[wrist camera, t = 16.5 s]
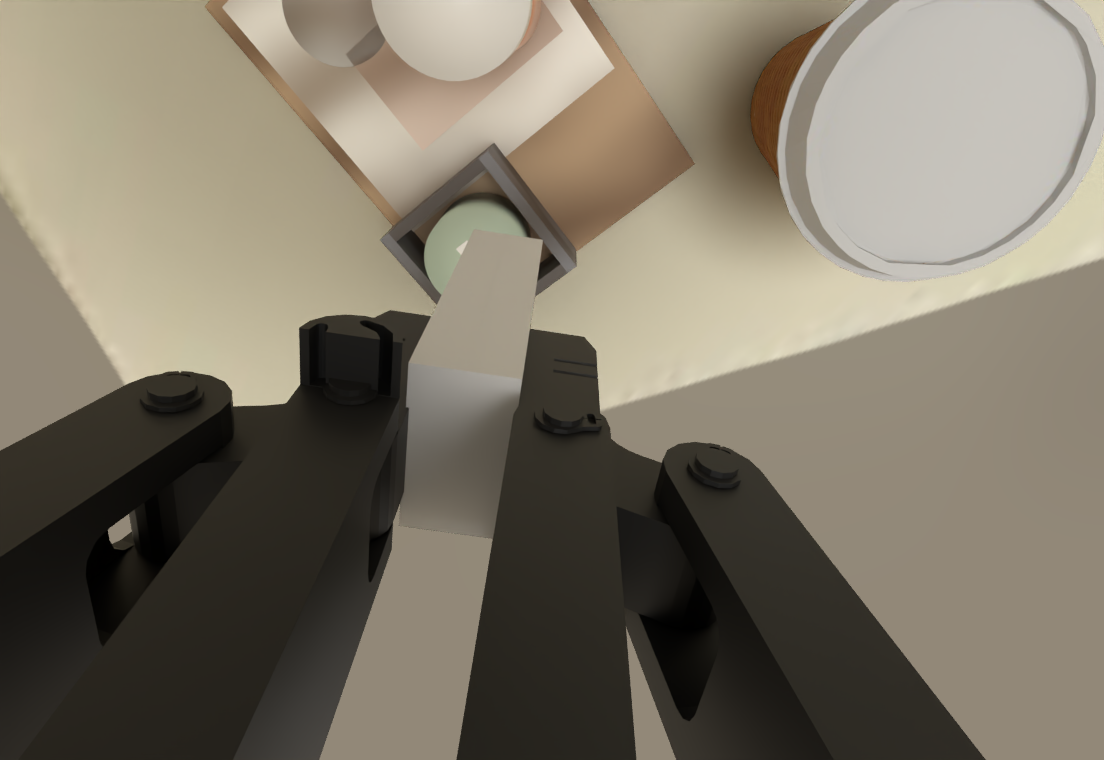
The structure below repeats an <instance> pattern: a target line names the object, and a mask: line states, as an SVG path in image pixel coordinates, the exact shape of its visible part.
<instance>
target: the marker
mask: <svg viewBox="0 0 1104 760" xmlns="http://www.w3.org/2000/svg"><path fill="white" fill-rule="evenodd" d="M371 1H372V7H373V11H374V14H375V17H376V21H377V23H378V25H379V28H380V30H381V32H382V34H383V35H384V37H385V39H386V41H387V42H388V44H389V45H390V46H391V48H392V49H393V50H394V51H395V53H396V54H397V55H398V56H399V57H400V58H401V59H402V60H403V61H405V62H406V63H407V64H408V65H409V66H411V67H412V68H414V69H416V70H417V71H419V72H421V73H423V74H425V75H427V76H430V77H433V78H436V79H440V80H446V81H464V80H470V79H474V78H477V77H480V76H482V75H484V74H487V73H488V72H490V71H492V70H493V69H495V68H496V67H498V66H499V65H501V64H502V63H503V62H504V61H506V60H507V59H508V58H509V57H510V56H511V55H512V54H513V53H514V52H515V51H516V50H518V49H519V48H521V47H522V46H523V45H524V44H525V43H526V42H527V41H528V40H529V39H530V38H531V36H532V35H533V33H534V31H535V29H536V27H537V24H538V22H539V18H540V12H541V0H371Z"/></svg>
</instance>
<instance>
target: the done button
mask: <svg viewBox="0 0 1104 760" xmlns="http://www.w3.org/2000/svg"><path fill="white" fill-rule="evenodd" d="M474 229H476V230H482V231H489V232H495V233H502V234H508V235H515V236H521V237H528V238H531V234H530V229H529V226H528V223H527V221H526V219H525V218H524V216H523V215H522V214H521V212H520V211H519V210H518V209H517V207H516V206H515V205H514V204H513V203H512V202H510V201H509V200H507V199H506V198H504V197H502V196H499V195H496V194H492V193H483V192H482V193H473V194H469V195H466V196H464V197H462V198H460V199H458V200H457V201H455V202H454V203H453V204H452V205H451V206H450V207H449V208H448V209H447V211H446V212H445V213H444V215H443V216H442V217H441V219H440V220H439V221H438V223H437V224H436V225H435V227H434V228H433V229H432V231H431V233H430V234H429V236H428V239H427V241H426V245H425V251H424V262H425V268H426V272H427V274H428V277H429V279H430V281H431V283H432V284H433V286H434V287H435V288H436V290H437V291H438V292H439V293H440V294H441V295H442V293H443V291H444V289H445V287H446V285H447V283H448V281H449V279H450V277H451V275H452V273H453V271H454V269H455V267H456V265H457V263H458V261H459V259H460V257H461V255H462V253H463V251H464V249H465V247H466V244H467V242H468V240H469V238H470V236H471V234H472V232H473V230H474Z"/></svg>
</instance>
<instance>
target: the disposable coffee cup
mask: <svg viewBox="0 0 1104 760" xmlns="http://www.w3.org/2000/svg"><path fill="white" fill-rule="evenodd" d="M750 117H751V126H752V133H753V136H754V139H755V142H756V144H757V146H758V148H759V150H760V152H761V154H762V155H763V156H764V157H765V159H766V160H767V162H768V163H769V165H770V166H771V168H772V169H773V171H774V173H775V174H776V176H777V177H778V179H779V180H780V187H781V193H782V196H783V198H784V201H785V203H786V206H787V208H788V211H789V213H790V215H791V217H792V220H793V221H794V223H795V224H796V226H797V227H798V229H799V230H800V232H801V233H802V235H803V236H804V237H805V239H806V240H807V241H808V242H809V243H810V244H811V245H812V246H813V247H814V248H815V249H816V250H817V251H818V252H819V253H820V254H822V255H823V256H825V257H826V258H827V259H829V260H830V261H832V262H833V263H835V264H836V265H837V266H839V267H841V268H843V269H846V270H848V271H851V272H853V273H856V274H858V275H861V276H863V277H868V278H873V279H878V280H883V281H902V282H910V281H919V280H928V279H933V278H940V277H946V276H952V275H958V274H961V273H964V272H967V271H970V270H973V269H976V268H980V267H983V266H985V265H987V264H989V263H991V262H993V261H995V260H997V259H999V258H1001V257H1002V256H1004V255H1006V254H1008V253H1009V252H1011V251H1013V250H1014V249H1016V248H1017V247H1019V246H1021V245H1022V244H1024V243H1026V242H1027V241H1029V240H1030V239H1031V238H1032V237H1033V236H1034V235H1036V234H1037V233H1038V232H1039V231H1040V230H1041V229H1043V228H1044V227H1045V226H1046V225H1047V224H1048V223H1049V222H1050V221H1051V220H1052V219H1053V218H1054V217H1055V216H1056V215H1057V214H1058V212H1059V211H1060V210H1061V209H1062V208H1063V207H1064V206H1065V205H1066V204H1067V203H1068V202H1069V200H1070V199H1071V197H1072V196H1073V194H1074V192H1075V191H1076V189H1077V188H1078V186H1079V184H1080V183H1081V181H1082V180H1083V178H1084V177H1085V175H1086V173H1087V172H1088V170H1089V169H1090V167H1091V164H1092V162H1093V160H1094V157H1095V155H1096V153H1097V150H1098V148H1099V146H1100V144H1101V140H1102V137H1103V133H1104V46H1103V44H1102V42H1101V39H1100V37H1099V35H1098V33H1097V31H1096V29H1095V26H1094V24H1093V22H1092V20H1091V18H1090V16H1089V15H1088V14H1087V13H1086V12H1085V11H1084V10H1083V9H1082V8H1081V7H1080V6H1079V5H1078V4H1077V3H1075V2H1074V0H855V1H853V2H852V3H851V4H850V5H849V6H848V7H847V8H846V9H845V10H844V11H843V12H842V13H841V14H840V15H839V16H838V17H837V18H836V19H834V20H832V21H830V22H828V23H826V24H824V25H822V26H820V27H818V28H816V29H814V30H812V31H810V32H808V33H806V34H804V35H802V36H800V37H797V38H796V39H794V40H793V41H792V42H790V43H789V44H788V45H786V46H785V47H783V48H782V49H781V50H780V51H779V52H778V53H777V54H776V55H775V56H774V57H773V58H772V59H771V61H770V62H769V63H768V65H767V66H766V68H765V69H764V70H763V72H762V74H761V76H760V78H759V80H758V82H757V84H756V87H755V91H754V94H753V97H752V103H751V112H750Z"/></svg>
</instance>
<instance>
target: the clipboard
mask: <svg viewBox="0 0 1104 760" xmlns="http://www.w3.org/2000/svg"><path fill="white" fill-rule="evenodd" d="M205 8H206V9H207V10H208V11H209V12H210V14H211V15H212V16H213V17H214V18H215V19H216V21H217V22H218V23H219V24H220V25H221V26H222V28H223V29H224V30H225V31H226V32H227V33H228V34H229V36H230V37H231V38H232V39H233V40H234V41H235V43H236V44H237V45H238V46H239V47H240V48H241V50H242V51H243V52H244V53H245V54H246V55H247V57H248V58H249V59H250V60H251V61H252V62H253V64H254V65H255V66H256V67H257V68H258V69H259V70H260V72H261V73H262V74H263V75H264V76H265V77H266V79H267V80H268V81H269V82H270V83H271V84H272V86H273V87H274V88H275V89H276V90H277V91H278V93H279V94H280V95H281V96H282V97H283V98H284V100H285V101H286V102H287V103H288V104H289V105H290V106H291V108H292V109H293V110H294V111H295V112H296V113H297V115H298V116H299V117H300V118H301V119H302V120H303V122H304V123H305V124H306V125H307V126H308V127H309V129H310V130H311V131H312V132H313V133H314V134H315V136H316V137H317V138H318V139H319V140H320V141H321V142H322V144H323V145H324V146H325V147H326V148H327V149H328V151H329V152H330V153H331V154H332V155H333V156H334V158H335V159H336V160H337V161H338V162H339V163H340V165H341V166H342V167H343V168H344V169H345V170H346V172H347V173H348V174H349V175H350V176H351V177H352V178H353V180H354V181H355V182H356V183H357V184H358V185H359V187H360V188H361V189H362V190H363V191H364V192H365V194H366V195H367V196H368V197H369V198H370V199H371V201H372V202H373V203H374V204H375V205H376V206H377V208H378V209H379V210H380V211H381V212H382V213H383V214H384V216H385V217H386V218H387V219H388V220H389V221H390V223H391V224H392V225H393V227H392V228H391V229H390V230H389V231H388V232H387V233H386V234H385V235H384V236H383V237H382V238H381V239H380V240H381V242H382V243H383V244H384V245H385V246H386V247H387V248H388V250H389V251H390V252H391V253H392V254H393V255H394V256H395V258H396V259H397V260H398V261H399V262H400V263H401V264H402V266H403V267H404V268H405V269H406V270H407V271H408V272H409V274H410V275H411V276H412V277H413V278H414V279H415V280H416V282H417V283H418V284H419V285H420V286H421V287H422V288H423V290H424V291H425V292H426V293H427V294H428V295H429V296H430V297H431V299H432V300H433V301H434V302H435V303H436V304H438V302H439V300H440V297H441V294H440V293H439V292H438V291H437V290H436V288H435V287H434V286H433V284H432V283H431V281H430V279H429V277H428V274H427V272H426V268H425V262H424V251H425V245H426V241H427V239H428V236H429V234H430V233H431V231H432V229H433V228H434V227H435V225H436V224H437V223H438V221H439V220H440V219H441V217H442V216H443V215H444V213H445V212H446V211H447V209H448V208H449V207H450V206H451V205H452V204H453V203H454V202H455V201H457V200H458V199H460V198H462V197H464V196H466V195H469V194H473V193H482V192H483V193H492V194H496V195H499V196H502V197H504V198H506V199H507V200H509V201H510V202H512V203H513V204H514V205H515V206H516V207H517V209H518V210H519V211H520V212H521V214H522V215H523V216H524V218H525V219H526V221H527V223H528V226H529V229H530V234H531V238H534V239H541V240H543V244H542V251H541V258H540V264H539V271H538V278H537V285H536V292H535V296H537V295H538V294H539V293H541V292H542V291H543V290H545V289H546V288H547V287H549V286H550V285H552V284H553V283H554V282H556V281H557V280H558V279H560V278H561V277H563V276H564V275H565V274H567V273H568V272H569V271H571V270H572V269H573V268H575V267H576V251H578V250H579V249H580V248H582V247H583V246H584V245H586V244H587V243H588V242H590V241H591V240H593V239H594V238H595V237H597V236H598V235H599V234H601V233H602V232H603V231H605V230H606V229H607V228H609V227H610V226H611V225H613V224H614V223H616V222H617V221H618V220H620V219H621V218H622V217H624V216H625V215H626V214H628V213H629V212H630V211H632V210H633V209H635V208H636V207H637V206H639V205H640V204H641V203H643V202H644V201H645V200H647V199H648V198H649V197H651V196H652V195H653V194H655V193H656V192H658V191H659V190H660V189H662V188H663V187H664V186H666V185H667V184H668V183H670V182H671V181H672V180H674V179H675V178H677V177H678V176H679V175H681V174H682V173H683V172H685V171H686V170H687V169H689V168H690V167H691V166H693V165H694V164H695V163H694V162H693V160H692V159H691V157H690V156H689V154H688V153H687V151H686V150H685V148H684V147H683V145H682V144H681V142H680V140H679V139H678V137H677V136H676V134H675V133H674V131H673V130H672V128H671V127H670V125H669V124H668V122H667V121H666V119H665V118H664V116H663V115H662V113H661V112H660V110H659V108H658V107H657V105H656V104H655V102H654V101H653V99H652V98H651V96H650V95H649V93H648V92H647V90H646V89H645V87H644V86H643V84H642V83H641V81H640V80H639V78H638V76H637V75H636V73H635V72H634V70H633V69H632V67H631V66H630V64H629V63H628V61H627V60H626V58H625V57H624V55H623V54H622V52H621V51H620V49H619V48H618V46H617V44H616V43H615V41H614V40H613V38H612V37H611V35H610V34H609V32H608V31H607V29H606V28H605V26H604V25H603V23H602V22H601V20H600V19H599V17H598V16H597V14H596V12H595V11H594V9H593V8H592V6H591V5H590V3H589V2H588V0H541V12H540V18H539V22H538V24H537V27H536V29H535V31H534V33H533V35H532V36H531V38H530V39H529V40H528V41H527V42H526V43H525V44H524V45H523V46H522V47H521V48H519V49H518V50H516V51H515V52H514V53H513V54H512V55H511V56H510V57H509V58H508V59H507V60H506V61H504V62H503V63H502V64H501V65H499V66H498V67H496V68H495V69H493V70H492V71H490V72H488V73H487V74H484V75H482V76H480V77H477V78H474V79H470V80H464V81H446V80H440V79H436V78H433V77H430V76H427V75H425V74H423V73H421V72H419V71H417V70H416V69H414V68H412V67H411V66H409V65H408V64H407V63H406V62H405V61H403V60H402V59H401V58H400V57H399V56H398V55H397V54H396V53H395V51H394V50H393V49H392V48H391V46H390V45H389V44H388V42H387V41H386V39H385V37H384V35H383V34H382V32H381V30H380V28H379V25H378V23H377V21H376V17H375V14H374V11H373V7H372V1H371V0H210V1H209V2H208V4H207V5H206V6H205Z"/></svg>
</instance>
